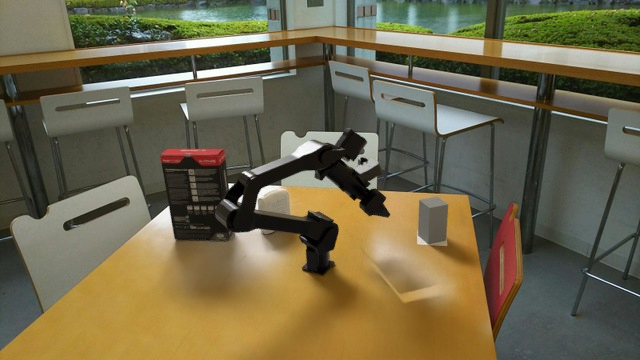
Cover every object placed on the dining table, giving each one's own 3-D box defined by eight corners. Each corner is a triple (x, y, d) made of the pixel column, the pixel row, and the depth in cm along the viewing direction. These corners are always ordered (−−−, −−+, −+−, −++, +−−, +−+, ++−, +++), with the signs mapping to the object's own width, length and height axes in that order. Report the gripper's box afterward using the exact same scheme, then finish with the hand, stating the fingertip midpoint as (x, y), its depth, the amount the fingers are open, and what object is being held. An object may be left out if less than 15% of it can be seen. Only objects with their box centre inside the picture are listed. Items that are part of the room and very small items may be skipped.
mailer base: (447, 250, 129) (448, 234, 128) (417, 249, 131) (417, 232, 129) (445, 236, 137) (446, 220, 135) (417, 235, 138) (417, 219, 136)
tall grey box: (428, 244, 130) (429, 207, 126) (417, 235, 135) (419, 199, 131) (446, 240, 132) (448, 204, 127) (435, 231, 137) (437, 196, 132)
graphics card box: (236, 231, 145) (225, 146, 135) (230, 242, 139) (218, 154, 129) (182, 231, 147) (167, 146, 137) (173, 242, 141) (157, 154, 131)
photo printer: (284, 220, 151) (281, 184, 146) (293, 224, 148) (290, 187, 144) (258, 231, 145) (254, 194, 140) (267, 236, 142) (263, 198, 137)
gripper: (379, 162, 111) (419, 199, 118) (349, 141, 128) (386, 174, 135) (347, 198, 112) (389, 233, 119) (322, 172, 128) (360, 204, 135)
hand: (381, 209), depth 127 cm, fingers open, 9 cm apart
